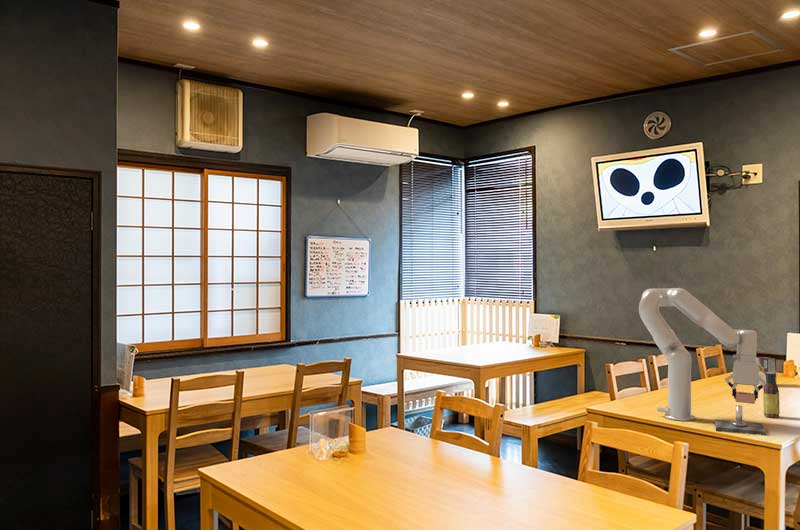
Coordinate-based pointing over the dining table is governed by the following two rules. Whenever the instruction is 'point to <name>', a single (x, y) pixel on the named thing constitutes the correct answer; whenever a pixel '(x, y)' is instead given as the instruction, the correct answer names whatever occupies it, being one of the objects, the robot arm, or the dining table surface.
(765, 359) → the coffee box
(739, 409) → the metal post
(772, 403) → the sauce bottle
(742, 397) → the square ring block
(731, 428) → the base plate
